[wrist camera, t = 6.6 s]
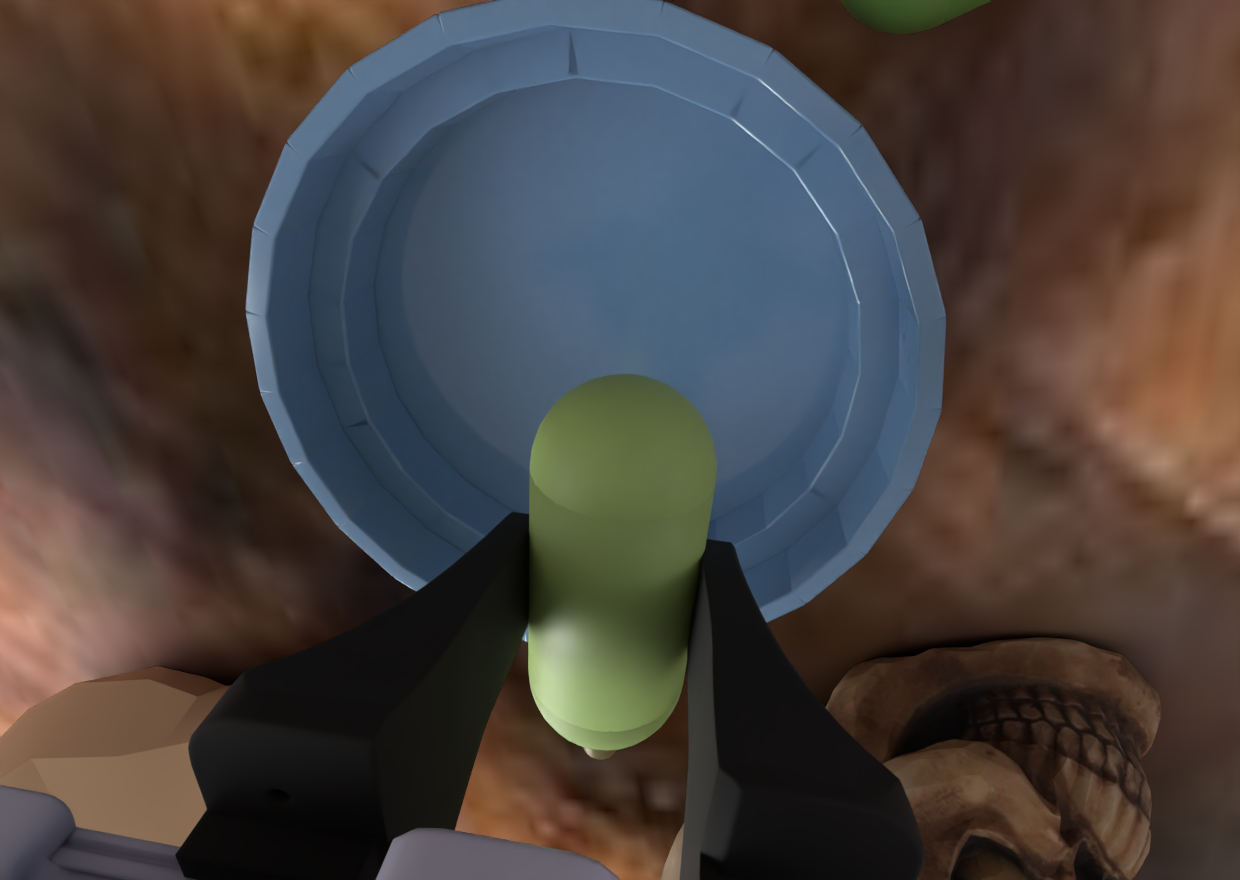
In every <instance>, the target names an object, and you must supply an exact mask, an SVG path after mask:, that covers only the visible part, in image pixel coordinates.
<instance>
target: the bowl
mask: <svg viewBox="0 0 1240 880" xmlns="http://www.w3.org/2000/svg"><path fill="white" fill-rule="evenodd" d="M245 309H246V318H247V324H248V329H249V335H250V340H251V346H252V352H253V357H254V363H255V368H256V374H257V379H258V385H259V390H260V391H261V392H260V394H261V396H262V399H263V401H264V403H265V405H266V408H267V410H268V412H269V414H270V417H271V419H272V421H273V423H274V426H275V428H276V430H277V433H278V435H279V437H280V439H281V442H282V444H283V446H284V448H285V451H286V453H287V455H288V457H289V460H290V462H291V463H292V464H293V467H294V468H295V469H296V471H297V472H298V473H299V475H300V476H301V478H302V479H303V480H304V482H305V483H306V484H307V486H308V487H309V488H310V490H311V491H312V493H313V494H314V495H315V497H316V498H317V499H318V501H319V502H320V503H321V505H322V506H323V507H324V509H325V510H326V512H327V513H328V514H329V516H330V517H331V518H332V520H333V521H334V522H335V524H336V525H337V526H339V529H341V530H342V531H343V532H344V533H345V534H346V535H347V536H348V537H349V538H350V539H352V540H353V541H354V542H355V543H356V544H357V545H358V546H359V547H360V548H361V549H363V550H364V551H365V552H366V553H367V554H368V555H369V556H370V557H371V558H373V559H374V560H375V561H376V562H377V563H378V564H379V565H380V566H381V567H382V568H384V569H385V570H386V571H387V572H388V573H389V574H390V575H391V576H394V578H395V579H397V580H398V581H400V582H402V583H403V584H405V585H407V586H408V587H410V588H412V589H413V590H415V591H416V592H417V591H418V590H419V589H421V588H422V587H424V586H425V585H426V584H428V583H429V582H430V581H432V580H433V579H434V578H436V577H437V576H438V575H439V574H441V573H442V572H443V571H445V570H446V569H447V568H449V567H450V566H451V565H452V564H454V563H455V562H456V561H457V560H458V559H459V558H461V557H462V556H463V555H464V554H465V553H466V552H468V551H469V550H470V549H471V548H472V547H473V546H475V545H476V544H477V543H478V542H479V541H480V540H481V539H482V538H483V537H485V536H486V535H487V534H488V533H489V532H490V531H491V530H492V529H493V528H494V527H495V526H496V525H497V524H498V523H500V522H501V521H502V520H503V519H504V518H505V517H506V516H507V515H508V514H510V513H511V512H518V513H525V514H529V484H530V458H531V450H532V446H533V442H534V439H535V437H536V434H537V431H538V428H539V426H540V424H541V422H542V421H543V419H544V418H545V416H546V415H547V413H548V412H549V410H550V409H551V408H552V406H553V405H554V404H555V403H556V402H557V401H558V400H559V399H560V398H561V397H562V396H564V395H565V394H566V393H567V392H569V391H570V390H571V389H573V388H575V387H577V386H579V385H580V384H582V383H584V382H586V381H588V380H591V379H594V378H597V377H602V376H607V375H612V374H636V375H642V376H646V377H649V378H652V379H655V380H658V381H660V382H663V383H665V384H667V385H669V386H671V387H672V388H674V389H675V390H677V391H678V392H679V393H681V394H682V395H683V396H684V397H686V398H687V399H688V400H689V401H690V402H691V403H692V404H693V405H694V407H695V408H696V409H697V411H698V412H699V413H700V414H701V416H702V417H703V419H704V421H705V423H706V425H707V427H708V429H709V431H710V434H711V436H712V438H713V443H714V448H715V454H716V460H717V476H716V485H715V491H714V497H713V503H712V509H711V515H710V522H709V528H708V534H707V539H711V540H718V541H726V542H731V543H732V544H733V545H734V547H735V549H736V553H737V556H738V559H739V562H740V565H741V568H742V571H743V573H744V576H745V578H746V581H747V583H748V586H749V588H750V590H751V592H752V595H753V597H754V599H755V601H756V603H757V605H758V607H759V609H760V611H761V613H762V615H763V617H764V619H765V621H766V623H767V622H769V621H771V620H774V619H776V618H778V617H780V616H782V615H784V614H786V613H788V612H790V611H793V610H795V609H797V608H799V607H801V606H803V605H804V604H805V603H808V602H809V601H810V600H812V599H813V598H814V597H815V596H817V595H818V594H819V593H820V592H821V591H823V590H824V589H825V588H826V587H828V586H829V585H830V584H831V583H833V582H834V581H835V580H836V579H837V578H839V577H840V576H841V575H842V574H844V573H845V572H846V571H847V570H849V569H850V568H851V567H852V566H853V565H855V564H856V563H857V562H858V561H860V560H861V559H862V558H863V557H864V555H866V554H867V553H868V552H869V550H870V549H871V547H872V546H873V545H874V543H875V542H876V540H877V539H878V538H879V536H880V535H881V534H882V532H883V531H884V529H885V528H886V527H887V525H888V524H889V523H890V521H891V520H892V518H893V517H894V516H895V514H896V513H897V511H898V510H899V509H900V507H901V506H902V505H903V503H904V502H905V500H906V499H907V498H908V496H909V495H910V494H911V491H912V490H913V489H914V487H915V484H916V481H917V478H918V476H919V473H920V470H921V467H922V464H923V462H924V459H925V456H926V453H927V451H928V448H929V445H930V442H931V439H932V437H933V434H934V431H935V428H936V426H937V423H938V420H939V417H940V414H941V412H942V410H941V408H942V399H943V379H944V359H945V339H946V317H945V316H946V311H945V307H944V304H943V300H942V296H941V292H940V288H939V284H938V280H937V277H936V273H935V269H934V265H933V261H932V257H931V253H930V250H929V246H928V242H927V238H926V234H925V230H924V226H923V223H922V220H921V219H920V217H919V214H918V212H917V210H916V209H915V207H914V206H913V204H912V202H911V201H910V199H909V198H908V196H907V194H906V193H905V191H904V190H903V188H902V186H901V185H900V183H899V181H898V180H897V178H896V177H895V175H894V173H893V172H892V170H891V169H890V167H889V165H888V164H887V162H886V161H885V159H884V157H883V156H882V154H881V153H880V151H879V149H878V148H877V146H876V145H875V143H874V141H873V140H872V138H871V137H870V135H869V133H868V132H867V130H866V129H865V127H863V126H861V123H860V121H859V120H857V119H856V118H855V117H854V116H853V115H852V114H850V113H849V112H848V111H847V110H846V109H845V108H843V107H842V106H841V105H840V104H839V103H838V102H836V101H835V100H834V99H833V98H832V97H831V96H830V95H828V94H827V93H826V92H825V91H824V90H823V89H821V88H820V87H819V86H818V85H817V84H816V83H814V82H813V81H812V80H811V79H810V78H809V77H807V76H806V75H805V74H804V73H803V72H802V71H801V70H799V69H798V68H797V67H796V66H795V65H794V64H792V63H791V62H790V61H789V60H788V59H787V58H785V57H784V56H783V55H782V54H781V53H780V52H779V51H777V50H773V48H772V47H771V46H769V45H767V44H764V43H762V42H760V41H757V40H755V39H753V38H750V37H748V36H746V35H744V34H741V33H739V32H737V31H734V30H732V29H730V28H727V27H725V26H723V25H720V24H718V23H716V22H714V21H711V20H709V19H707V18H704V17H702V16H700V15H697V14H695V13H693V12H690V11H688V10H686V9H684V8H681V7H679V6H677V5H674V4H672V3H670V2H664V1H663V0H493V1H488V2H484V3H479V4H475V5H470V6H466V7H461V8H457V9H452V10H448V11H443V12H440V13H439V14H435V15H433V16H431V17H430V18H428V19H426V20H425V21H423V22H421V23H420V24H418V25H417V26H415V27H413V28H412V29H410V30H408V31H407V32H405V33H403V34H402V35H400V36H398V37H397V38H395V39H393V40H392V41H390V42H389V43H387V44H385V45H384V46H382V47H380V48H379V49H377V50H375V51H374V52H372V53H370V54H369V55H367V56H365V57H364V58H362V59H361V60H359V61H357V62H356V63H354V64H352V65H351V66H350V68H347V69H346V70H345V71H344V73H343V74H342V75H341V76H340V77H339V79H338V80H337V81H336V82H335V83H334V85H333V86H332V87H331V88H330V89H329V90H328V92H327V93H326V94H325V95H324V96H323V98H322V99H321V100H320V101H319V102H318V104H317V105H316V106H315V107H314V108H313V110H312V111H311V112H310V113H309V114H308V116H307V117H306V118H305V119H304V120H303V122H302V123H301V124H300V125H299V126H298V128H297V129H296V130H295V131H294V132H293V134H292V135H291V136H290V137H289V138H288V140H287V143H286V144H285V146H284V149H283V151H282V154H281V156H280V159H279V161H278V164H277V166H276V169H275V171H274V174H273V176H272V179H271V181H270V184H269V186H268V189H267V191H266V194H265V196H264V199H263V201H262V204H261V206H260V209H259V211H258V214H257V216H256V219H255V221H254V227H253V229H252V239H251V251H250V262H249V274H248V285H247V296H246V308H245ZM522 640H525V641H526V642H529V622H528V626H527V629H526V631H525V634H524V636H523V638H522Z"/></svg>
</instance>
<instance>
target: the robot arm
mask: <svg viewBox="0 0 1240 880" xmlns="http://www.w3.org/2000/svg"><path fill="white" fill-rule="evenodd" d="M528 622H529V514H525V513H518V512H511V513H510V514H508V515H507V516H506V517H505V518H504V519H503V520H502V521H501V522H500V523H498V524H497V525H496V526H495V527H494V528H493V529H492V530H491V531H490V532H489V533H488V534H487V535H486V536H485V537H483V538H482V539H481V540H480V541H479V542H478V543H477V544H476V545H475V546H473V547H472V548H471V549H470V550H469V551H468V552H466V553H465V554H464V555H463V556H462V557H461V558H459V559H458V560H457V561H456V562H455V563H454V564H452V565H451V566H450V567H449V568H447V569H446V570H445V571H443V572H442V573H441V574H439V575H438V576H437V577H436V578H434V579H433V580H432V581H430V582H429V583H428V584H426V585H425V586H424V587H422V588H421V589H419V590H418V591H417V592H415V593H414V594H412V595H411V596H409V597H408V598H406V599H405V600H403V601H402V602H400V603H398V604H397V605H395V606H394V607H392V608H390V609H389V610H387V611H385V612H383V613H381V614H380V615H378V616H376V617H374V618H372V619H370V620H368V621H366V622H364V623H362V624H361V625H359V626H357V627H355V628H353V629H351V630H349V631H347V632H345V633H343V634H341V635H338V636H336V637H334V638H332V639H330V640H327V641H325V642H323V643H320V644H318V645H315V646H313V647H311V648H308V649H306V650H303V651H301V652H298V653H295V654H293V655H290V656H287V657H284V658H281V659H278V660H275V661H272V662H269V663H266V664H263V665H261V666H258V667H255V668H251V669H248V670H245V671H244V672H243V673H242V674H241V676H240V677H239V678H238V679H237V680H236V681H235V682H234V683H233V684H232V685H231V686H230V687H229V688H228V690H227V691H226V692H225V693H224V695H223V696H222V697H221V698H220V700H219V701H218V702H217V703H216V705H215V706H214V707H213V709H212V710H211V711H210V712H209V714H208V715H207V716H206V717H205V719H204V720H203V721H202V722H201V724H200V725H199V726H198V728H197V729H196V730H195V731H194V733H193V734H192V735H191V738H190V741H189V745H188V752H189V757H190V762H191V766H192V769H193V772H194V774H195V777H196V780H197V783H198V785H199V788H200V791H201V794H202V797H203V799H204V802H205V805H206V808H207V810H206V811H205V813H204V814H203V816H202V817H201V819H200V820H199V821H198V823H197V824H196V826H195V827H194V829H193V830H192V831H191V833H190V834H189V836H188V837H187V839H186V840H185V841H184V843H183V844H182V846H181V847H178V846H173V845H168V844H163V843H157V842H152V841H147V840H142V839H136V838H131V837H126V836H121V835H116V834H110V833H105V832H100V831H95V830H89V829H84V828H79V827H76V824H75V820H74V817H73V814H72V812H71V810H70V808H69V807H68V806H67V805H66V804H65V803H64V802H63V801H62V800H60V799H58V798H57V797H55V796H52V795H49V794H46V793H42V792H36V791H31V790H25V789H20V788H15V787H9V786H4V785H0V880H619V878H618V877H617V876H616V875H615V874H614V873H612V872H611V871H610V870H609V869H607V868H606V867H605V866H604V865H602V864H601V863H600V862H599V861H597V860H594V859H591V858H588V857H585V856H582V855H580V854H577V853H574V852H570V851H565V850H559V849H554V848H548V847H543V846H537V845H532V844H526V843H521V842H515V841H510V840H504V839H499V838H493V837H488V836H483V835H477V834H472V833H466V832H461V831H455V827H456V823H457V820H458V816H459V813H460V809H461V806H462V802H463V799H464V796H465V792H466V789H467V785H468V782H469V779H470V775H471V772H472V769H473V765H474V762H475V759H476V756H477V752H478V749H479V746H480V743H481V739H482V736H483V733H484V730H485V727H486V725H487V722H488V719H489V717H490V714H491V712H492V709H493V707H494V705H495V702H496V700H497V698H498V695H499V693H500V690H501V688H502V686H503V683H504V681H505V679H506V676H507V674H508V672H509V669H510V667H511V665H512V662H513V660H514V658H515V655H516V653H517V650H518V648H519V646H520V643H521V641H522V638H523V636H524V634H525V631H526V629H527V626H528ZM687 676H688V725H689V765H688V779H687V793H686V806H685V819H684V831H683V844H682V856H681V868H680V880H917V879H918V877H919V875H920V873H921V871H922V868H923V864H924V860H925V854H924V849H923V843H922V838H921V834H920V831H919V827H918V824H917V821H916V818H915V816H914V813H913V810H912V808H911V805H910V802H909V800H908V798H907V795H906V793H905V790H904V788H903V786H902V783H901V781H900V779H899V778H898V777H897V776H895V775H894V774H893V773H892V772H891V771H890V770H889V769H887V768H886V767H885V766H884V765H883V764H882V763H881V762H879V761H878V760H877V759H876V758H875V757H874V756H873V755H871V754H870V753H869V752H868V751H867V750H866V749H864V748H863V747H862V746H861V745H860V744H859V743H858V742H857V741H856V740H855V739H854V738H853V737H852V736H851V735H850V734H849V733H848V732H847V731H846V730H845V729H844V728H843V727H842V726H841V725H840V724H839V723H838V722H837V720H836V719H835V718H834V717H833V716H832V715H831V714H830V712H829V711H828V710H827V709H826V708H825V707H824V706H823V704H822V703H821V702H820V701H819V700H818V699H817V697H816V696H815V695H814V694H813V693H812V691H811V690H810V689H809V687H808V686H807V685H806V683H805V682H804V681H803V679H802V678H801V677H800V675H799V674H798V672H797V671H796V670H795V668H794V667H793V665H792V664H791V662H790V661H789V660H788V658H787V656H786V655H785V653H784V652H783V650H782V649H781V647H780V645H779V644H778V642H777V640H776V639H775V637H774V635H773V633H772V632H771V630H770V628H769V626H768V625H767V623H766V621H765V619H764V617H763V615H762V613H761V611H760V609H759V607H758V605H757V603H756V601H755V599H754V597H753V595H752V592H751V590H750V588H749V586H748V583H747V581H746V578H745V576H744V573H743V571H742V568H741V565H740V562H739V559H738V556H737V553H736V549H735V547H734V545H733V544H732V543H731V542H726V541H718V540H711V539H707V540H706V546H705V551H704V553H703V555H702V560H701V567H700V573H699V579H698V585H697V591H696V598H695V604H694V610H693V616H692V623H691V629H690V635H689V641H688V648H687Z"/></svg>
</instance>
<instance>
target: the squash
mask: <svg viewBox="0 0 1240 880" xmlns="http://www.w3.org/2000/svg"><path fill="white" fill-rule="evenodd" d="M230 686H231V685H230ZM230 686H225V685H222V684H220V683H218V682H215V681H213V680H211V679H208V678H206V677H202V676H197V675H193V674H189V673H185V672H180V671H176V670H172V669H167V668H163V667H154V668H149V669H144V670H139V671H134V672H129V673H124V674H119V675H115V676H110V677H105V678H100V679H95V680H90V681H85V682H80V683H75V684H73V685H72V686H70V687H68V688H66V689H64V690H62V691H61V692H59V693H57V694H55V695H53V696H51V697H50V698H48V699H46V700H44V701H42V702H40V703H39V704H37V705H35V706H33V707H31V708H29V709H28V710H27V711H26V712H25V713H24V714H23V715H22V716H21V717H20V718H19V719H18V720H17V721H16V722H15V723H14V724H13V725H12V726H11V727H10V728H9V729H8V730H7V731H6V732H5V733H4V734H3V735H2V736H1V737H0V785H4V786H9V787H15V788H20V789H25V790H31V791H36V792H42V793H46V794H49V795H52V796H55V797H57V798H58V799H60V800H62V801H63V802H64V803H65V804H66V805H67V806H68V807H69V808H70V810H71V812H72V814H73V817H74V820H75V824H76V827H79V828H84V829H89V830H95V831H100V832H105V833H110V834H116V835H121V836H126V837H131V838H136V839H142V840H147V841H152V842H157V843H163V844H168V845H173V846H178V847H181V846H182V844H183V843H184V841H185V840H186V839H187V837H188V836H189V834H190V833H191V831H192V830H193V829H194V827H195V826H196V824H197V823H198V821H199V820H200V819H201V817H202V816H203V814H204V813H205V811H206V810H207V808H206V805H205V802H204V799H203V797H202V794H201V791H200V788H199V785H198V783H197V780H196V777H195V774H194V772H193V769H192V766H191V762H190V757H189V752H188V745H189V741H190V738H191V735H192V734H193V733H194V731H195V730H196V729H197V728H198V726H199V725H200V724H201V722H202V721H203V720H204V719H205V717H206V716H207V715H208V714H209V712H210V711H211V710H212V709H213V707H214V706H215V705H216V703H217V702H218V701H219V700H220V698H221V697H222V696H223V695H224V693H225V692H226V691H227V690H228V688H229V687H230Z"/></svg>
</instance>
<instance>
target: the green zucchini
mask: <svg viewBox="0 0 1240 880" xmlns="http://www.w3.org/2000/svg"><path fill="white" fill-rule="evenodd" d="M840 1H841V3H842V4H843V6H844V8H845V9H846V10H847V11H848V12H849V13H850V14H851V15H852V16H853V17H854V18H855V19H856V20H858V21H859V22H861V23H863V24H864V25H866V26H868V27H869V28H872V29H876V30H879V31H882V32H885V33H892V34H910V33H916V32H922V31H925V30H928V29H930V28H933V27H936V26H939V25H941V24H943V23H945V22H947V21H950V20H952V19H954V18H956V17H958V16H960V15H962V14H964V13H967V12H969V11H971V10H973V9H975V8H977V7H979V6H981V5H984V4H986V3H988V2H990V1H992V0H840Z"/></svg>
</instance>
